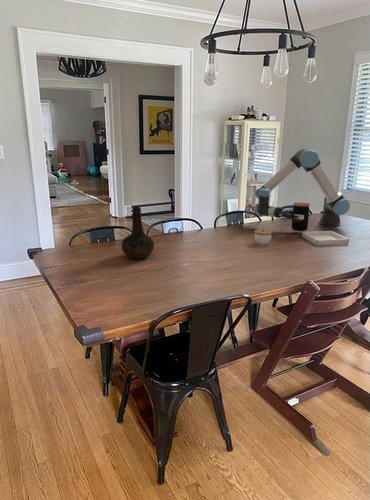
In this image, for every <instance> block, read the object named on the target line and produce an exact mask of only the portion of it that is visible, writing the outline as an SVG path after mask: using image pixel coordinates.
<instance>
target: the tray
mask: <svg viewBox="0 0 370 500" xmlns="http://www.w3.org/2000/svg"><path fill="white" fill-rule="evenodd" d="M301 238H303V239H304V240H307V241H308V242H310V243H311V244H312V245H314V246H316V247H319V246H321V247H323V246H345V245H346V246H347V245H349V242H350V239H349V238H348V237H345V236H343V235H341V234H339V233H337V232H335V231H333V230H321V231H320V230H318V231H314V230H313V231H301Z"/></svg>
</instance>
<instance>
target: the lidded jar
mask: <svg viewBox="0 0 370 500" xmlns="http://www.w3.org/2000/svg"><path fill="white" fill-rule="evenodd" d="M272 236H273V231H272V230H269V229H265V228H262V229H255V230H254V240H255V241H256V243H257V244H258V245H263V246H264V245H265V246H267V245H268V244H269V242H271V240H272Z"/></svg>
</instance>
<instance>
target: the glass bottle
mask: <svg viewBox="0 0 370 500" xmlns="http://www.w3.org/2000/svg"><path fill="white" fill-rule="evenodd" d="M131 209H132V210H131V211H130V212H131V213H132V227H131V228H132V229H131V234H129V235H127V236H126V237H124V238H123V240H122V242H121V250H122V252H123V253H124V254H125V256H126V257H128V258H129V259H132V258H133V260H141V259H142V258H143V259H146V258H147V257H149V256H151V254H152V253H153V251H154V249H155V243H154V240H153V239H152V237H151V236H149V235H147V234H146V233H145V231H144V227H143V222H142V214H141V213H142V210H141V209H142V207H141V206H132V208H131ZM143 259H142V260H143Z"/></svg>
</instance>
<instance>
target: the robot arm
mask: <svg viewBox="0 0 370 500" xmlns="http://www.w3.org/2000/svg"><path fill="white" fill-rule="evenodd" d="M319 157H320V156H319V154H318V153H317V151H316V150H313V149H311V148H309V149H307V148H302V149H299V150H298V151H297V152H296V153H295V154H294V155H293V156H291V158H290V159H288V162H287V163H286V164H285V165H284V166H283V167H282V168H281V169H279V170H278V171H277V172H276V173H275V174H274V175H273V176H272V177H271V178H270V179H269V180H268V181H266V182H265V183H264V184H263V185H262V186H261V187H260V188H258V189H256V190H255V192H254V195H255V197H256V199H257V200H258V204H256V205H255V206H254V211H253V212H254V214H255V215H257V216H261V217H270V218H271V219H273V218H275V219H280V218H286V219H291V220H292V219H293V218H295V219H304V215H297V214H294V215H293V209H292V210H290V209H285V210H284V209H283V207H280V206H272V205H271V206H270V196H271V192H273V191H274V190H275V189H276V188H277V187H278V186H279V185H280V184H282V183H283V182H284V181H285V180H286V179H288V177H289V176H291V175H292V174H293V173H295V171H297V170H299V169H300V168H303V170H304V171H305V173H308V174H309V175H310V176H311V177H312V179H313V180H314V182H315V183H316V185H317V186H318V188H319V190H320V192H321V193H322V194H323V195H324V199H323V206H322V207H323V209H322V215H321V217H320V218H319V222H318V223H319V224H320V225H322V226H326V227H327V226H329V227H338V226H341V218H340V216H343V215H345V214H347V213H348V212H349V211H350V209H351V204H350V202H349V200H347V199H346V198H345V197H344V195H343V194H342V193H341V192H338V191H337V188H336V187H335V186H334V184H333V183H332V181H331V180H330V178H329V176H328V175H327V174H326V172H325V170H324V169H323V168H322V166H321V163H322V162H321V160H320V158H319ZM310 213H311V212H309V216H310Z"/></svg>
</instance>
